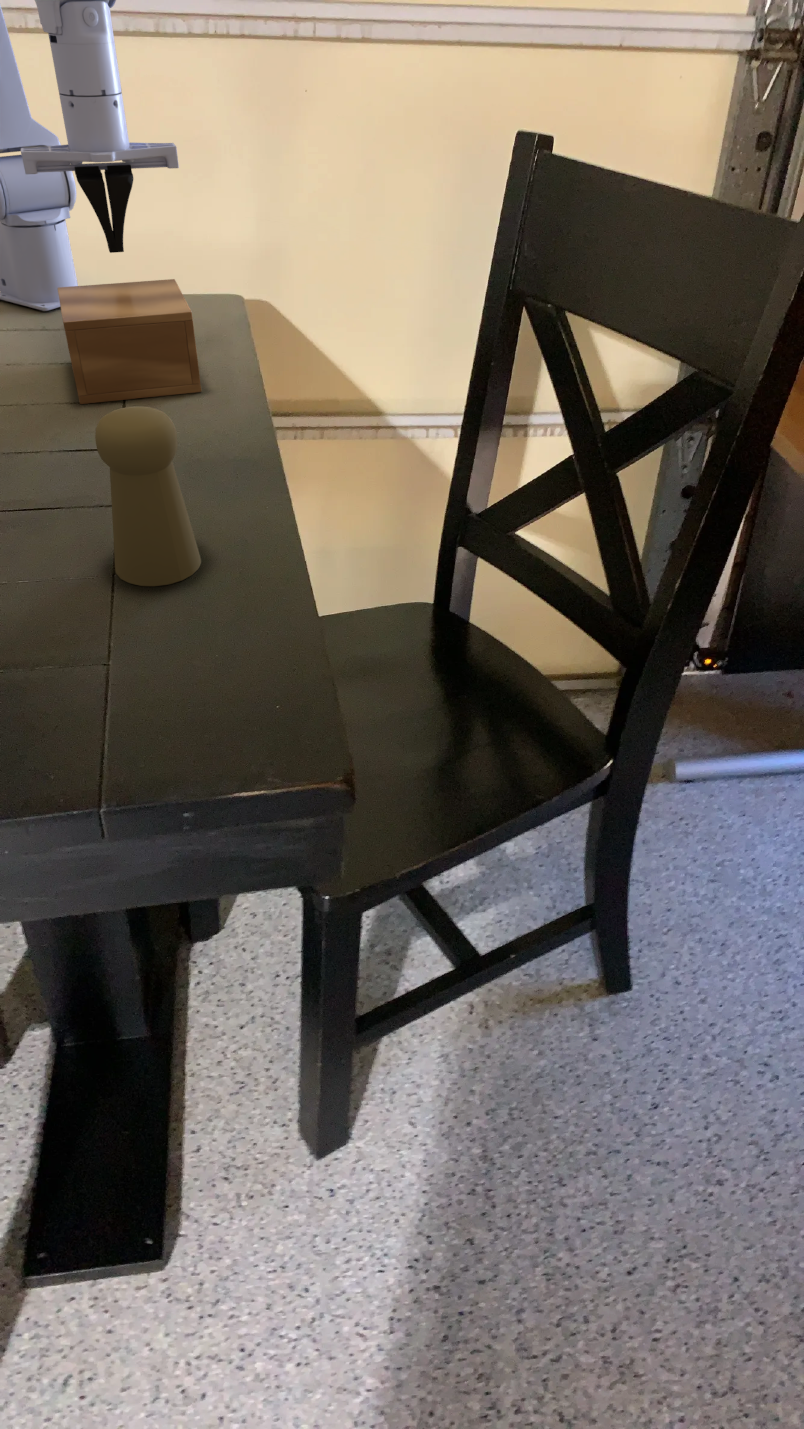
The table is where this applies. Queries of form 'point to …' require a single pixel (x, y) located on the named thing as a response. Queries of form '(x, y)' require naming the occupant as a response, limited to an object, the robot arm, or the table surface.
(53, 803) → the table surface
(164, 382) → the cabinet
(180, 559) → the tan pawn
